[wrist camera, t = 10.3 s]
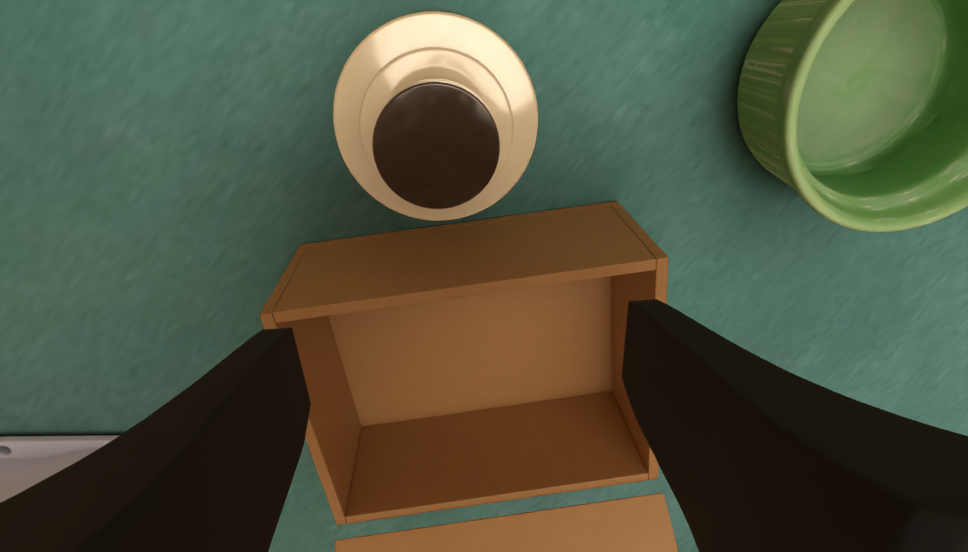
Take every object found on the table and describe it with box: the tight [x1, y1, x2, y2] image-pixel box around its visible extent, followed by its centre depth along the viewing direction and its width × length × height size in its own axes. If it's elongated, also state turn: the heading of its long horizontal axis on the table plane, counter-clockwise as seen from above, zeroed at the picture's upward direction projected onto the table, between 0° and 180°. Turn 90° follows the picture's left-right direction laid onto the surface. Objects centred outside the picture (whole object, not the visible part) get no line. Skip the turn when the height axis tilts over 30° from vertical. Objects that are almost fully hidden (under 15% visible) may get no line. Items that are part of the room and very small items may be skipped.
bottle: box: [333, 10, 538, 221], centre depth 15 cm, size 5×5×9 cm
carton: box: [260, 201, 668, 525], centre depth 21 cm, size 10×13×5 cm
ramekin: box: [737, 0, 968, 232], centre depth 18 cm, size 9×9×4 cm
